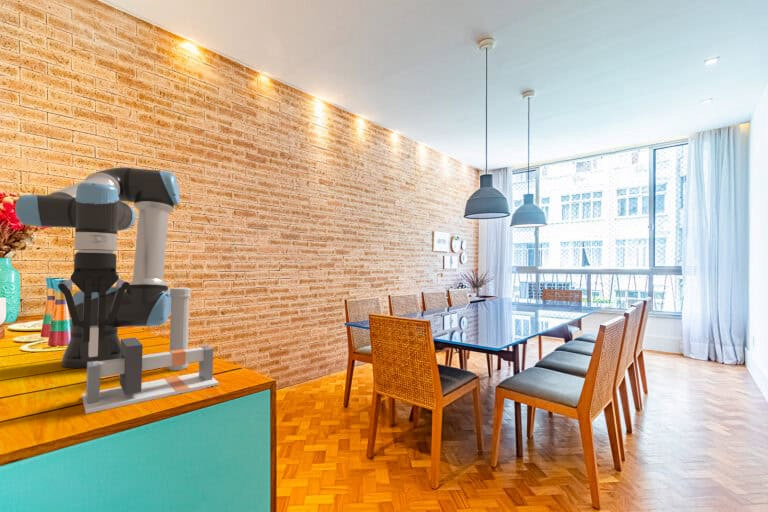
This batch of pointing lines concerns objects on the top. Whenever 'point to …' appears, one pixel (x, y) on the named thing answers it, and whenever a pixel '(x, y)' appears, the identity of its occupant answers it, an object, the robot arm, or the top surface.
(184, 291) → the pipe
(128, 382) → the collar
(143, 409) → the top surface
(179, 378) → the rail
